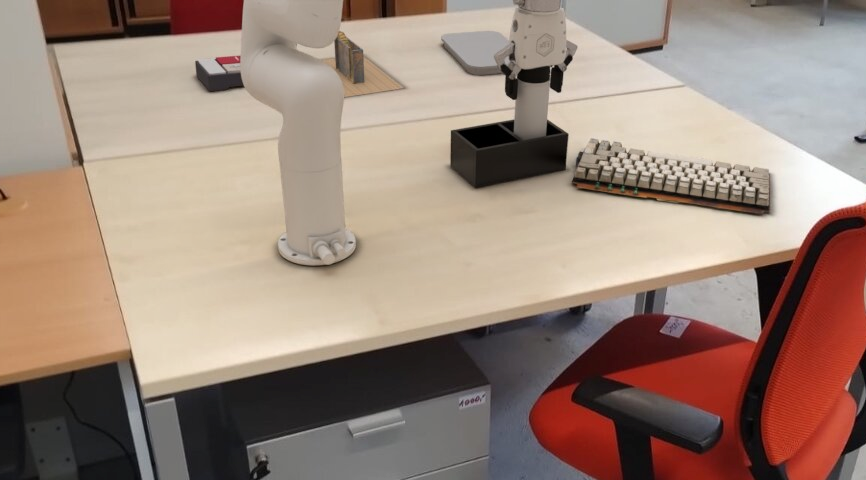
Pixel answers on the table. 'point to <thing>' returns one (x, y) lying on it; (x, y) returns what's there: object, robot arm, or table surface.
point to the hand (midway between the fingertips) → (533, 93)
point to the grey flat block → (476, 50)
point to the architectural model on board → (357, 69)
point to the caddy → (505, 153)
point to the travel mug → (532, 103)
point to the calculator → (219, 72)
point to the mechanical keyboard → (672, 178)
